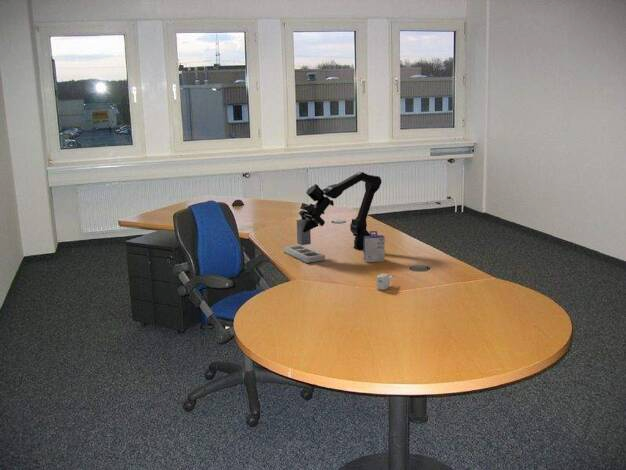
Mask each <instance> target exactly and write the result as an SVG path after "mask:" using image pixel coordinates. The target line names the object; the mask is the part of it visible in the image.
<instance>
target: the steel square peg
mask: <svg viewBox="0 0 626 470" xmlns="http://www.w3.org/2000/svg"><path fill="white" fill-rule="evenodd" d="M308 222H309V220H307V219H302V218H301V219H296V238H297V239H296V241H297V243H296V244H297V245H303V246H307V245H311V244H312V243H311V242H312V240H311V238H312V237H311V230H309V231H307V232H305V233H304V232H303V230H304V228H305V227H306V225H307V224H308Z"/></svg>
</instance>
